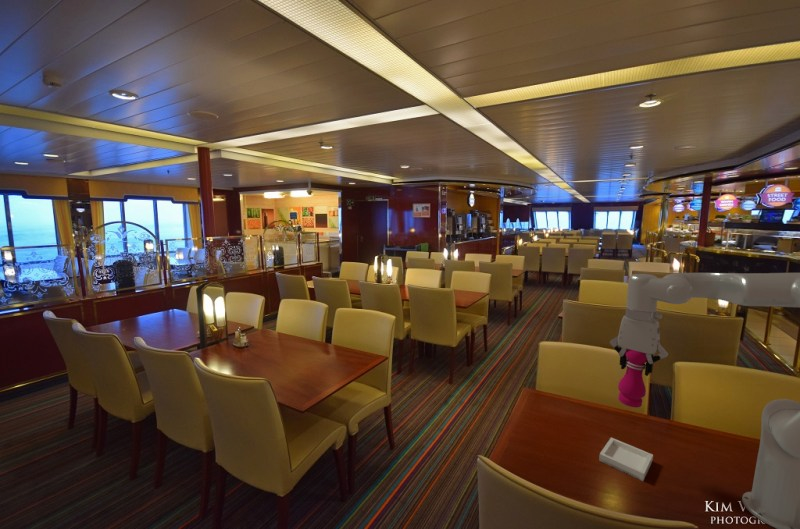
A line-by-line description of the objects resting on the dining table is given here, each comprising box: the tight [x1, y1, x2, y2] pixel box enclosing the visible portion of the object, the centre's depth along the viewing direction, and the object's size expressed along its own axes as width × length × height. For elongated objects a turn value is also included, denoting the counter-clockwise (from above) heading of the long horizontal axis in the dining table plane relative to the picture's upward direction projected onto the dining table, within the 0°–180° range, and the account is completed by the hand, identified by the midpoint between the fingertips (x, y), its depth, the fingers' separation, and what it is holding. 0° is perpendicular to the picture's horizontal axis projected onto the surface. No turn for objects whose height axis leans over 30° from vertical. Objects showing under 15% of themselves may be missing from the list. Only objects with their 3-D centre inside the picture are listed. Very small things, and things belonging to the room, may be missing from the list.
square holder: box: [598, 437, 654, 482], centre depth 111 cm, size 12×12×2 cm
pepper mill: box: [617, 349, 648, 408], centre depth 107 cm, size 7×7×20 cm
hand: (635, 370), depth 107 cm, fingers closed on pepper mill, 5 cm apart
